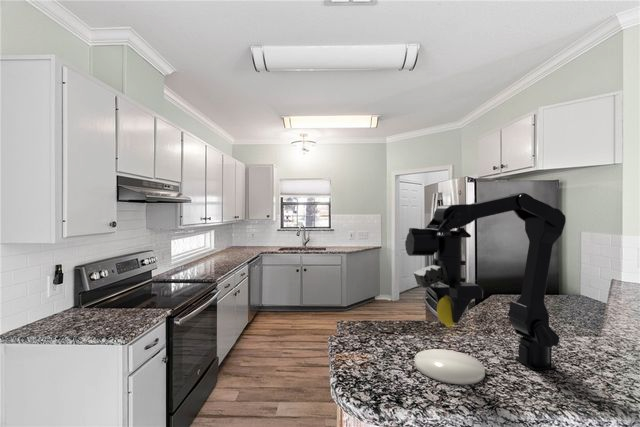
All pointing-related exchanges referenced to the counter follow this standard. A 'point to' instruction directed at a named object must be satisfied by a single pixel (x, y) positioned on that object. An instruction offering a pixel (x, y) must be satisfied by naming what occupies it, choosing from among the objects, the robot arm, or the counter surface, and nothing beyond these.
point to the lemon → (445, 311)
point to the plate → (449, 366)
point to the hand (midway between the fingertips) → (448, 318)
